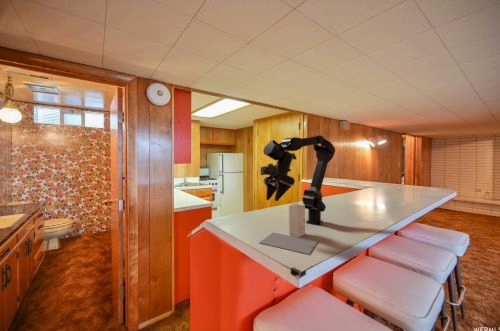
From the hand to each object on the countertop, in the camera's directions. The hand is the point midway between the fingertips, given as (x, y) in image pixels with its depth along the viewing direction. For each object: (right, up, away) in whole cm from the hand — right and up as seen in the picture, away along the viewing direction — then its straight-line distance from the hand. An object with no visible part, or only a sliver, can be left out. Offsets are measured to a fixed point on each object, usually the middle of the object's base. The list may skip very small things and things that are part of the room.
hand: (271, 200), depth 83 cm
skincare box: (+10, -14, 0) cm, 17 cm away
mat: (+5, -14, -8) cm, 17 cm away
